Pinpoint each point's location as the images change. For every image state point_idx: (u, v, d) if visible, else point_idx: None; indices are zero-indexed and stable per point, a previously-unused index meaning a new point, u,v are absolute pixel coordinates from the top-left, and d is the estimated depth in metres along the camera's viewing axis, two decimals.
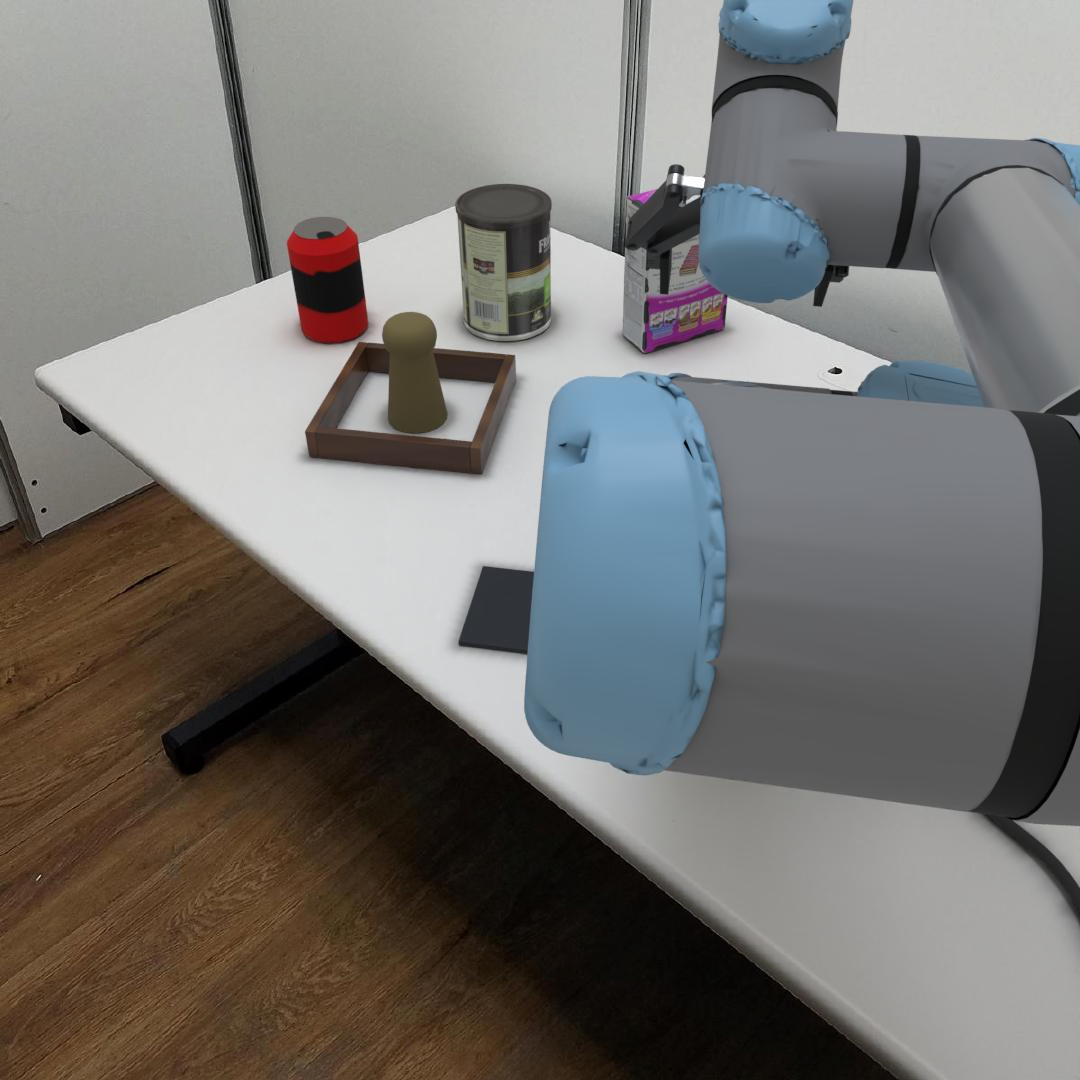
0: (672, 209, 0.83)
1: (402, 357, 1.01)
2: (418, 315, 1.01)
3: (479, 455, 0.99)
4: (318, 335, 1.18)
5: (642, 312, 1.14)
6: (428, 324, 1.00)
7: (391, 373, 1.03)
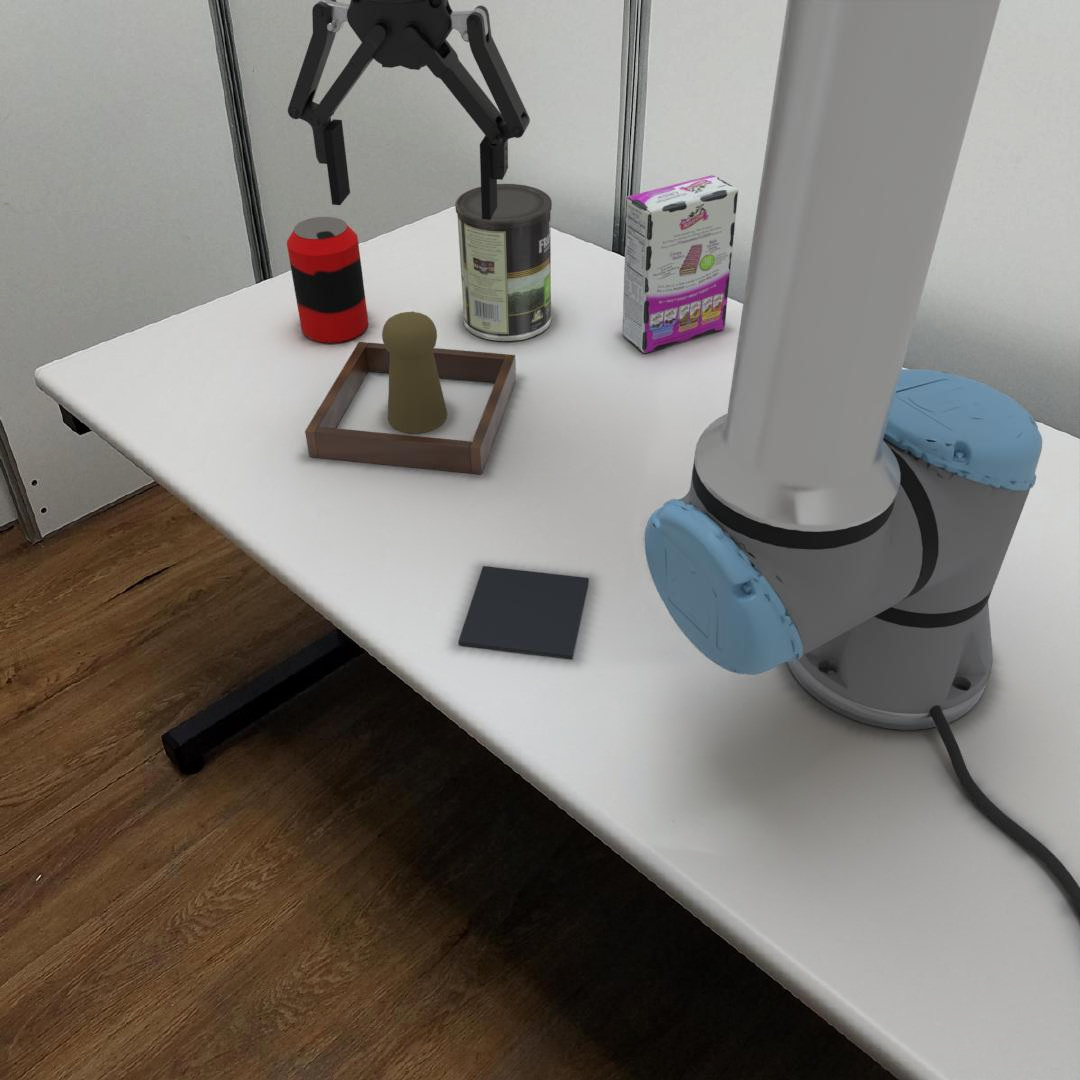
0: (322, 35, 0.85)
1: (403, 357, 1.01)
2: (418, 315, 1.01)
3: (479, 455, 0.99)
4: (318, 335, 1.18)
5: (642, 312, 1.14)
6: (428, 324, 1.00)
7: (391, 373, 1.03)
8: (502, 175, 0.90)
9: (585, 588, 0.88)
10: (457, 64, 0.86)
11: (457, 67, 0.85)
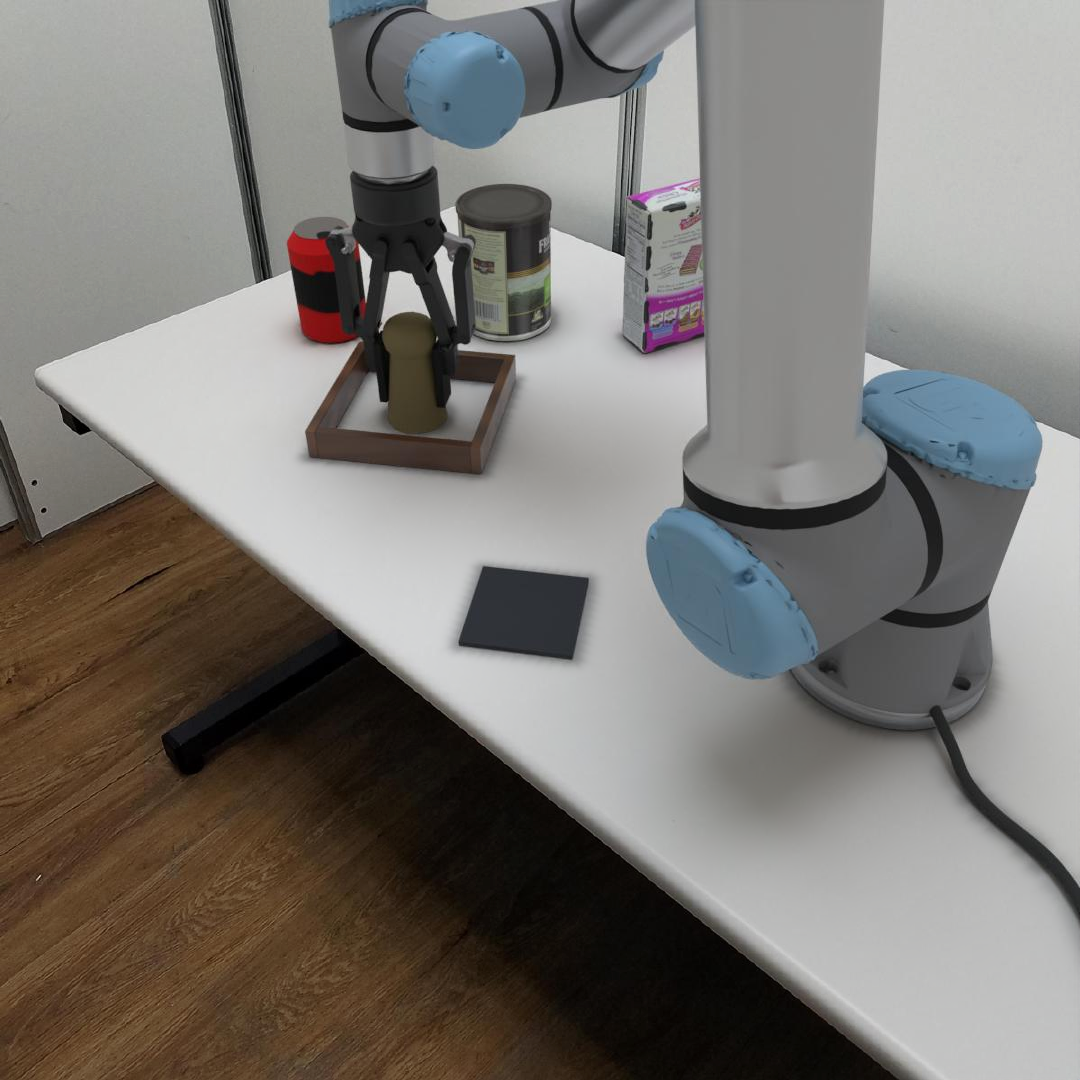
0: (341, 260, 0.96)
1: (402, 357, 1.01)
2: (418, 315, 1.01)
3: (479, 455, 0.99)
4: (318, 335, 1.18)
5: (642, 312, 1.14)
6: (428, 324, 1.00)
7: (391, 373, 1.03)
8: (453, 372, 1.03)
9: (585, 588, 0.88)
10: (435, 277, 0.98)
11: (435, 280, 0.97)
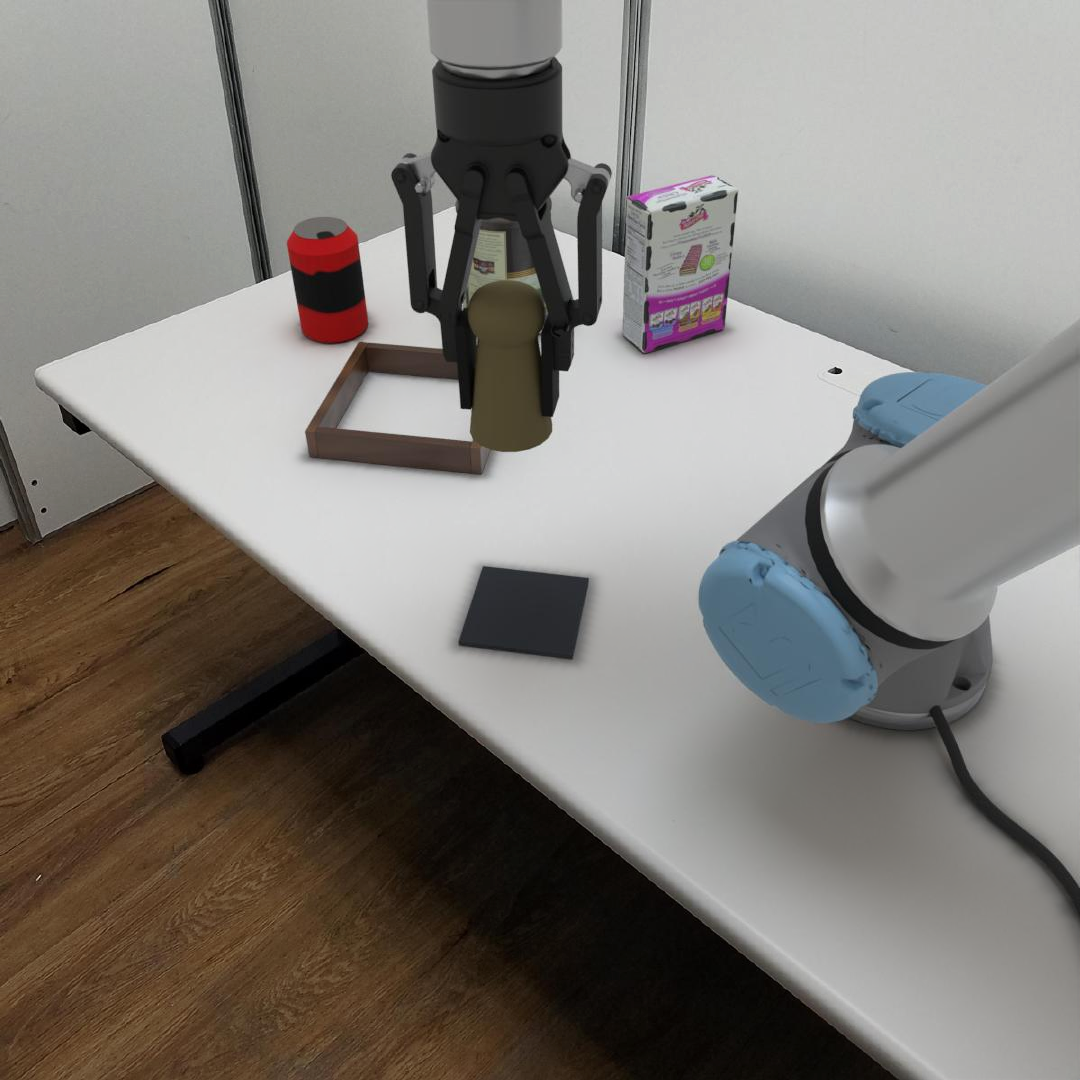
0: (414, 202, 0.66)
1: (498, 345, 0.70)
2: (519, 284, 0.71)
3: (479, 455, 0.99)
4: (318, 335, 1.18)
5: (642, 312, 1.14)
6: (535, 297, 0.70)
7: (479, 367, 0.73)
8: (568, 366, 0.72)
9: (585, 588, 0.88)
10: (549, 227, 0.67)
11: (549, 232, 0.67)
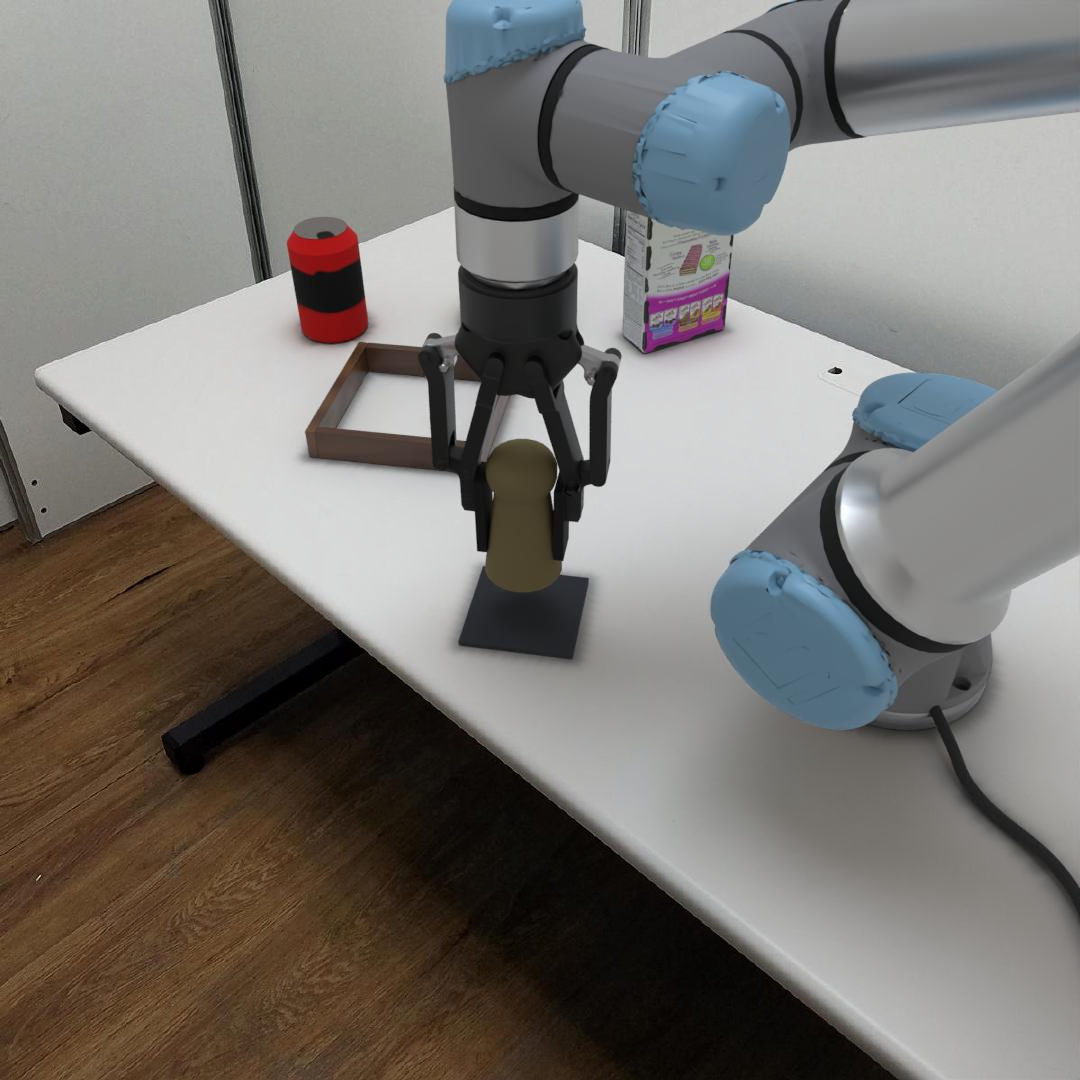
0: (438, 379, 0.72)
1: (514, 502, 0.76)
2: (534, 445, 0.76)
3: None
4: (318, 335, 1.18)
5: (642, 312, 1.14)
6: (548, 458, 0.76)
7: (495, 518, 0.78)
8: (578, 518, 0.78)
9: (585, 588, 0.88)
10: (563, 400, 0.73)
11: (562, 405, 0.73)
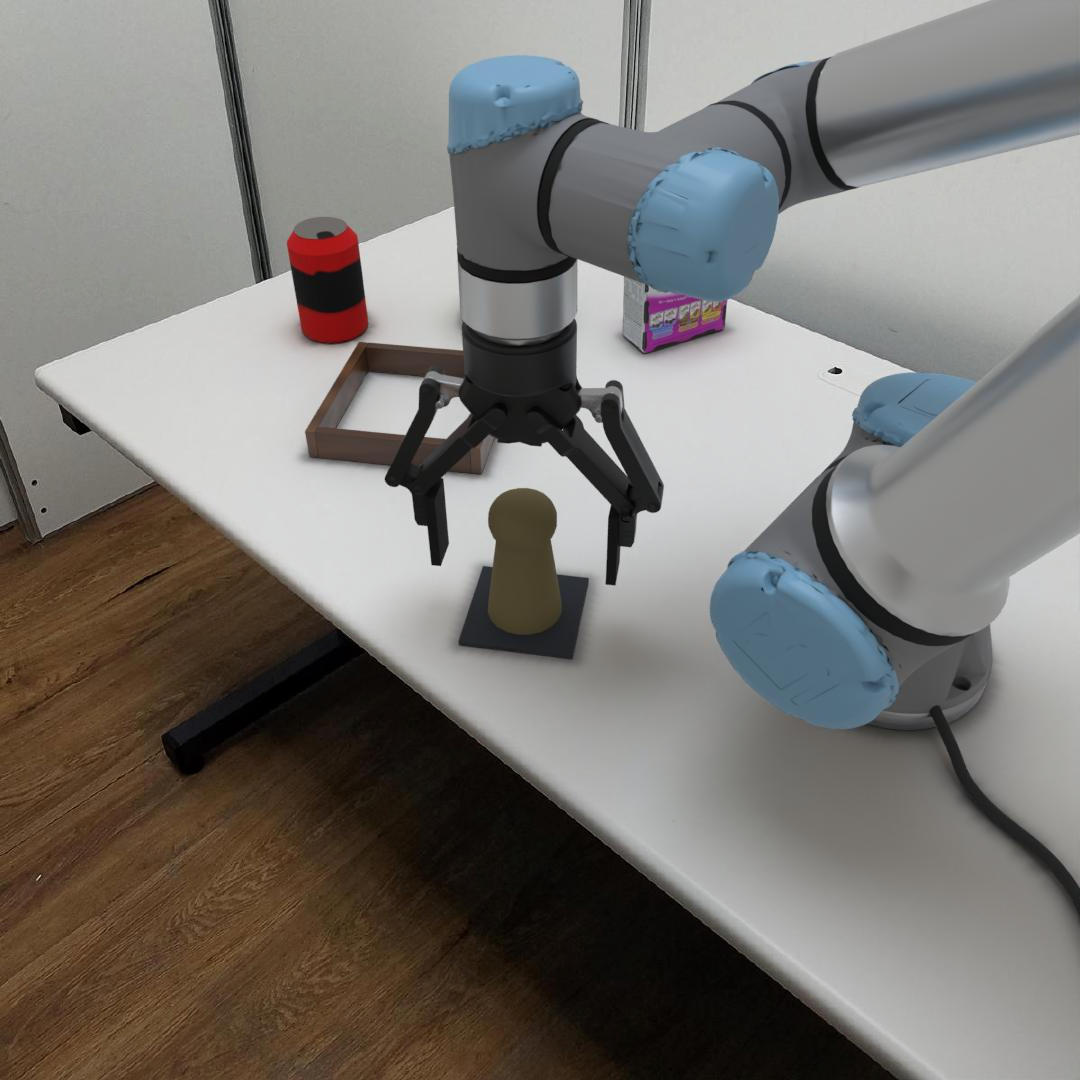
0: (429, 412, 0.73)
1: (515, 550, 0.79)
2: (534, 494, 0.79)
3: (479, 455, 0.99)
4: (318, 335, 1.18)
5: (642, 312, 1.14)
6: (548, 508, 0.79)
7: (497, 564, 0.81)
8: (631, 543, 0.78)
9: (585, 588, 0.88)
10: (584, 436, 0.74)
11: (584, 441, 0.74)
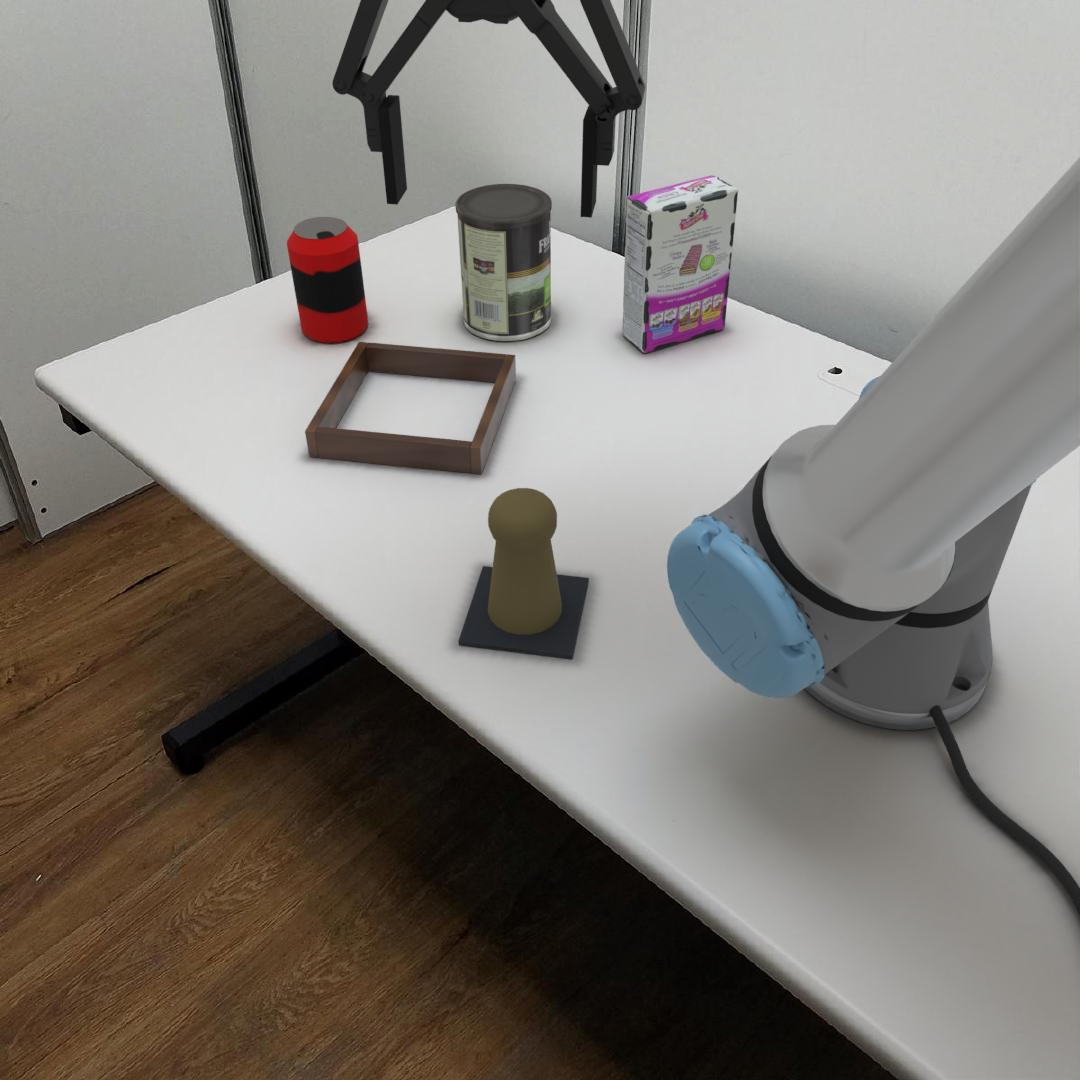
0: None
1: (515, 550, 0.79)
2: (534, 494, 0.79)
3: (479, 455, 0.99)
4: (318, 335, 1.18)
5: (642, 312, 1.14)
6: (548, 508, 0.79)
7: (497, 564, 0.81)
8: (609, 160, 0.70)
9: (585, 588, 0.88)
10: (555, 16, 0.66)
11: (556, 20, 0.66)
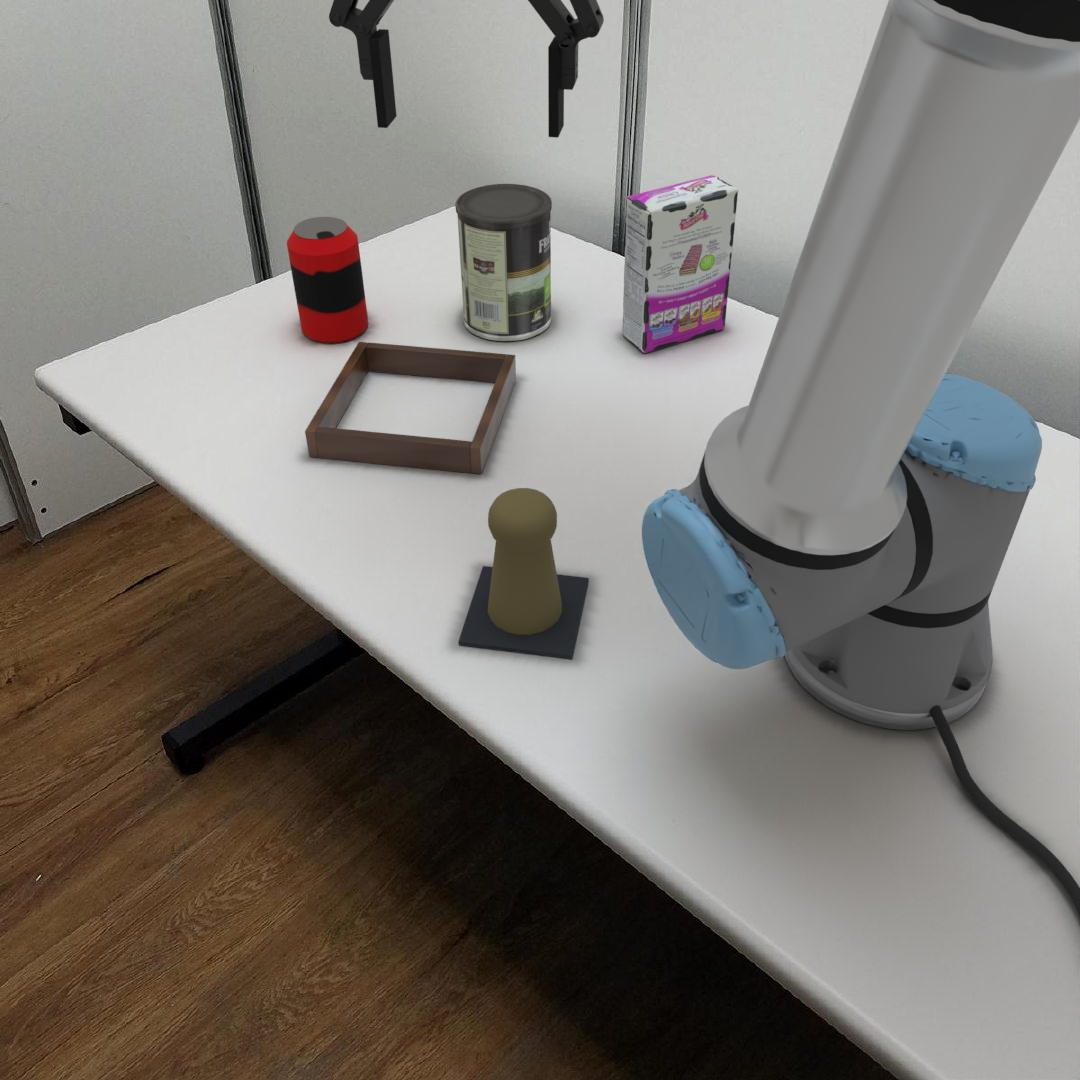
0: None
1: (515, 550, 0.79)
2: (534, 494, 0.79)
3: (479, 455, 0.99)
4: (318, 335, 1.18)
5: (642, 312, 1.14)
6: (548, 508, 0.79)
7: (497, 564, 0.81)
8: (572, 84, 0.80)
9: (585, 588, 0.88)
10: None
11: None
